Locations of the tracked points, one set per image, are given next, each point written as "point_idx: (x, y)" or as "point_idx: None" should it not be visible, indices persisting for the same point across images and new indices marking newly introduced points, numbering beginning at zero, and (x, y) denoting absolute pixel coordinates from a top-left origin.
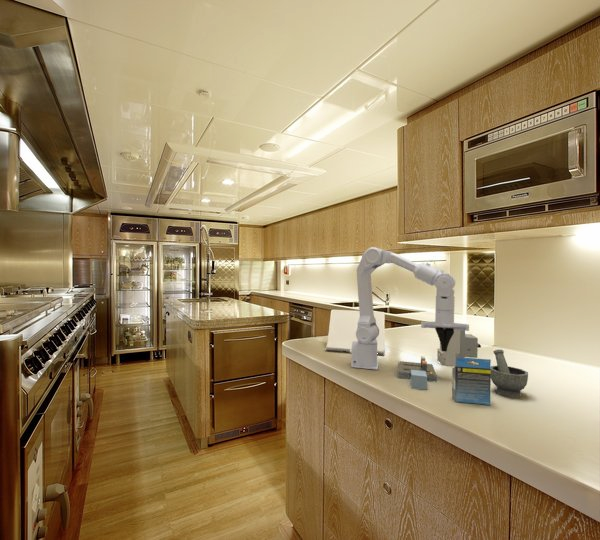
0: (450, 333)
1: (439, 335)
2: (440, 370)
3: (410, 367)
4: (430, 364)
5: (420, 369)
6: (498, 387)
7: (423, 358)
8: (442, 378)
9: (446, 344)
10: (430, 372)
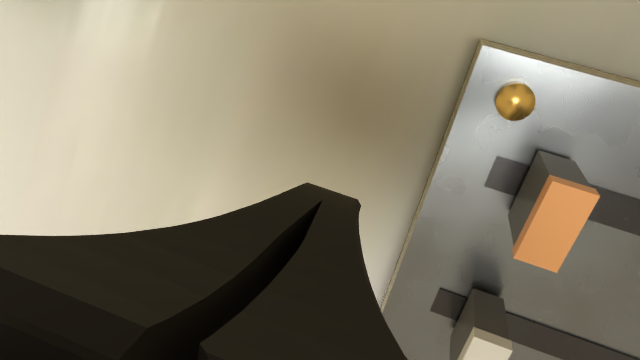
0: (48, 262)
1: (392, 352)
2: None
3: (626, 288)
4: None
5: None
6: None
7: (490, 341)
8: (384, 134)
9: (276, 212)
10: (519, 109)
